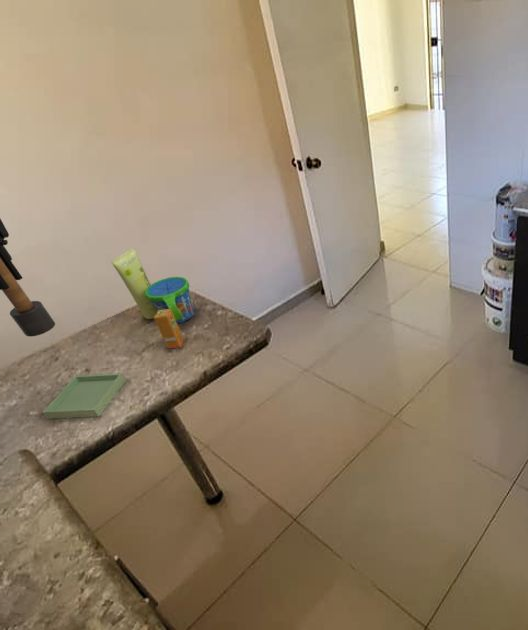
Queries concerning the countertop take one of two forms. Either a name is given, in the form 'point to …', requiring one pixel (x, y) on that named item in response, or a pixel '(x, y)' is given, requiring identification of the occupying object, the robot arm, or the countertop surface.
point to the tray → (85, 396)
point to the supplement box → (169, 328)
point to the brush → (25, 307)
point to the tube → (135, 281)
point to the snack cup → (172, 297)
